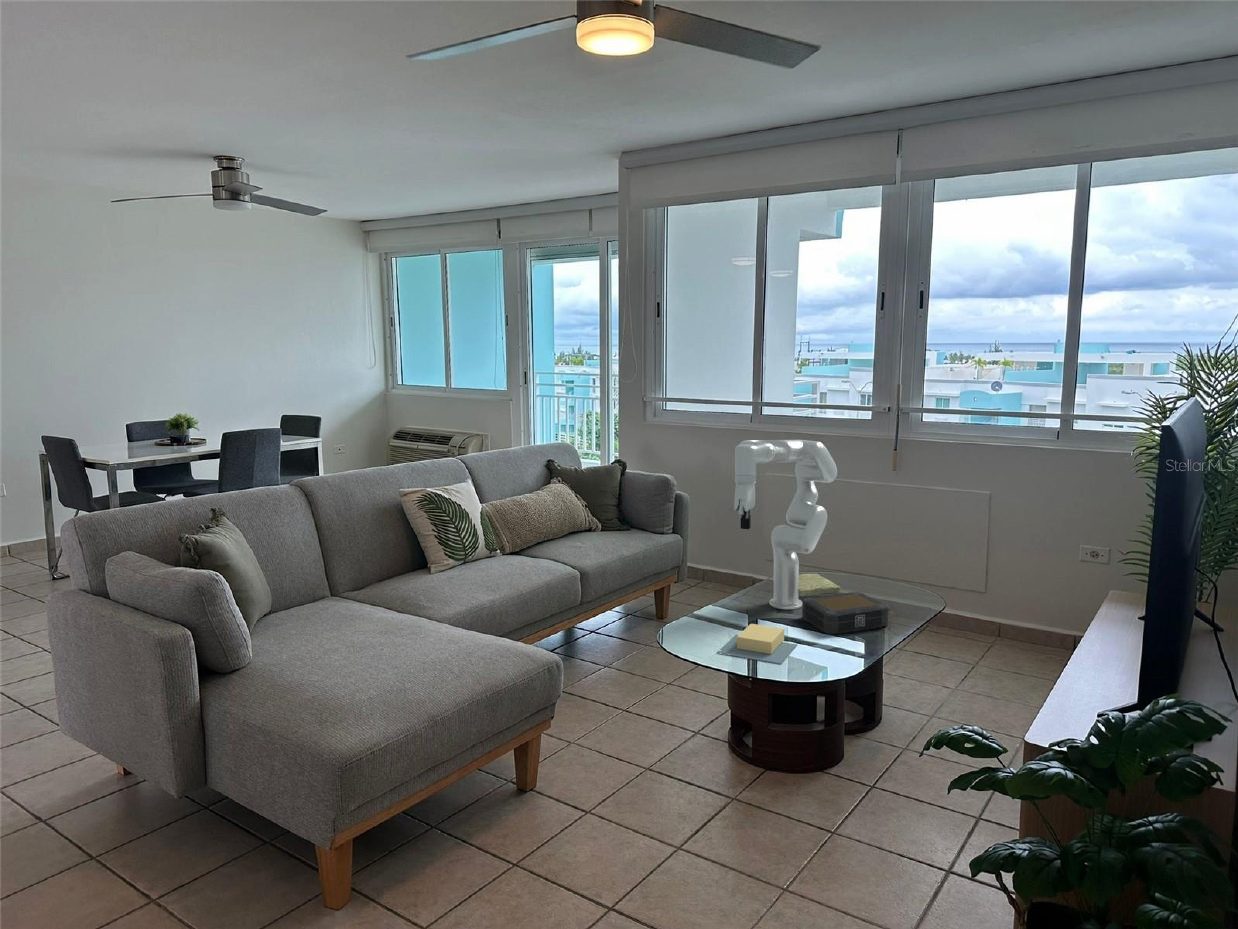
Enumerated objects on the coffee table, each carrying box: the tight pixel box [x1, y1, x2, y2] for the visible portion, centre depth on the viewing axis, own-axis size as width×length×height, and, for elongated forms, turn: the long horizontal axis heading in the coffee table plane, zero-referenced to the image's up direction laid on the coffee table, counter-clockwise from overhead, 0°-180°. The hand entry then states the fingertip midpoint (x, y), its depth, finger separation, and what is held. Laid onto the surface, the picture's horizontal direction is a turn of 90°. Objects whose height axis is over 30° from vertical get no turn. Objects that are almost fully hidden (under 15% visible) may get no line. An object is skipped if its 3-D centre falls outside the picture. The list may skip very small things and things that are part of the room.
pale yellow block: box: [737, 623, 785, 654], centre depth 282 cm, size 4×12×14 cm
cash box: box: [801, 591, 890, 635], centre depth 303 cm, size 25×20×8 cm
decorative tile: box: [798, 573, 841, 597], centre depth 345 cm, size 19×20×4 cm
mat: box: [716, 634, 798, 665], centre depth 279 cm, size 18×22×1 cm
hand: (745, 528), depth 301 cm, fingers closed
